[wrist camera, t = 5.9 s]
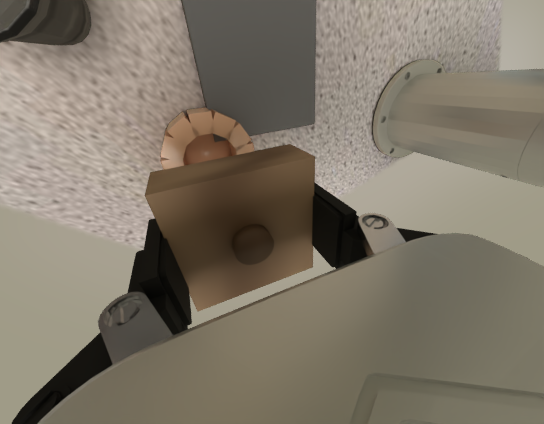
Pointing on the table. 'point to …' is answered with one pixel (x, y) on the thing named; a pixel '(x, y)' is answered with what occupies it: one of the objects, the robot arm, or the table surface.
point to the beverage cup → (44, 21)
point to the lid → (237, 220)
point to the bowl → (202, 138)
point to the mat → (256, 60)
